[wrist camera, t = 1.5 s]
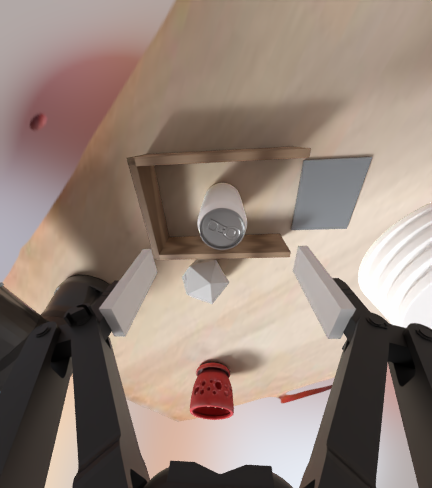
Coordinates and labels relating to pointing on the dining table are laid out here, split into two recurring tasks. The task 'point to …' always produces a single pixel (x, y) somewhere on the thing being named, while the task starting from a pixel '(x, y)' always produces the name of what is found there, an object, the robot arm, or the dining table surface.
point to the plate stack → (401, 270)
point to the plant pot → (212, 392)
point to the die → (204, 280)
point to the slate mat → (328, 192)
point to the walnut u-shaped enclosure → (194, 245)
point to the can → (222, 217)
